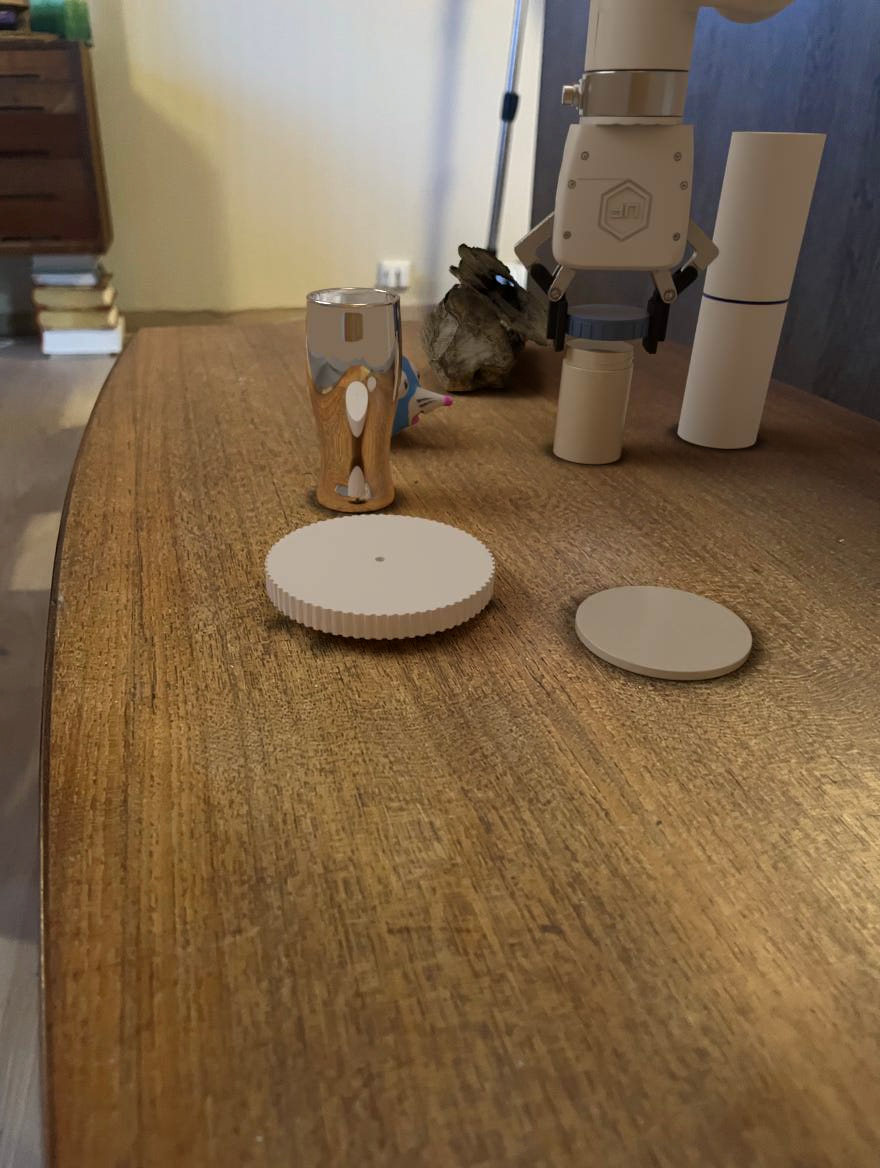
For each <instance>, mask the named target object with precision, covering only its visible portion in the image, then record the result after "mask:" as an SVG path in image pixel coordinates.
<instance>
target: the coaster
mask: <svg viewBox="0 0 880 1168" xmlns="http://www.w3.org/2000/svg"><path fill="white" fill-rule="evenodd" d="M574 629H575V632H576V635H577V637H578V638H579V640H580V642H581V643H582V644H583V645H584V646H585V647H586V648H587V649H588V651H590V652H591V653H593V654H595V656H597V657H598V658H600V659H602V660H603V661H605V662H607V663H608V664H612V665H613V666H615V667H617V668H619V669H623V670H625V671H628V672H632V673H635V674H638V675H641V676H645V677H650V678H654V679H655V678H656V679H663V680H669V681H670V680H671V681H701V680H709V679H714V678H719V677H722V676H725V675H728V674H731V673H732V672H734V671H737V670H738V669H739V668H741V667H742V666H743V665H744V663H746V661H747V660H748V659H749V656H750V654H751V650H752V646H753V636H752V632H751V631H750V628H749V627H748V625H747V624H746V622H744V621H743V619H742V618H741V617H740V616H739V615H737V614H736V613H735V612H733V611H732V610H730V609H729V608H728V607H726V606H724V605H722V604H721V603H718V602H717V601H714V600H712V599H710V598H708V597H704V596H702V595H700V594H696V593H693V592H689V591H685V590H682V589H677V588H672V587H666V586H665V587H664V586H657V585H625V586H617V587H612V588H607V589H604V590H601V591H598V592H595V593H594V594H592V595H589V596H588V597H587V598H585V599H584V600H583V601H582V602H581V603H580V604H579V606H578V608H577V610H576V612H575V619H574Z"/></svg>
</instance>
